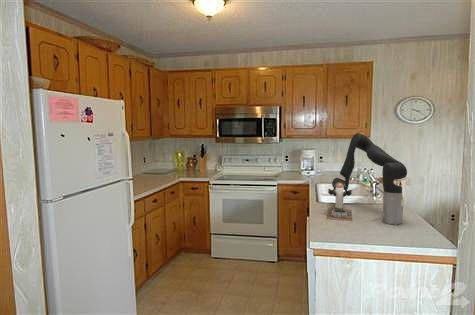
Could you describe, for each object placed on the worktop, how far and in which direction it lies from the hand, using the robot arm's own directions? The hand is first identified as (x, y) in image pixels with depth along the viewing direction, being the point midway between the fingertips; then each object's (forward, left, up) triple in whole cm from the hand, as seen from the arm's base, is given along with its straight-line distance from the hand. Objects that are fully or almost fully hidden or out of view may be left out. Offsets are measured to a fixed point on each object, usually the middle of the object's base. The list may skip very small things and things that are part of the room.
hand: (339, 194), depth 183 cm
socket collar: (+2, -2, -13) cm, 13 cm away
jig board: (+4, -5, -14) cm, 16 cm away
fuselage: (+2, -2, -8) cm, 8 cm away
